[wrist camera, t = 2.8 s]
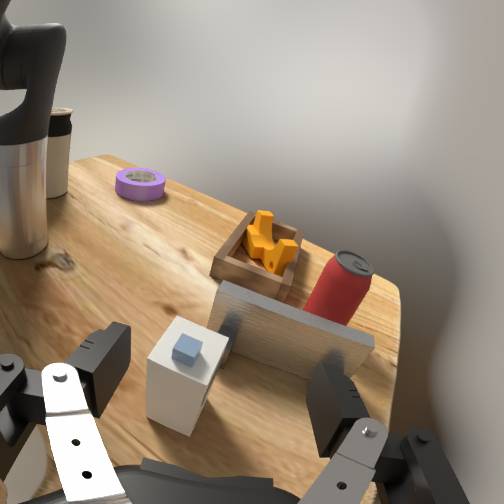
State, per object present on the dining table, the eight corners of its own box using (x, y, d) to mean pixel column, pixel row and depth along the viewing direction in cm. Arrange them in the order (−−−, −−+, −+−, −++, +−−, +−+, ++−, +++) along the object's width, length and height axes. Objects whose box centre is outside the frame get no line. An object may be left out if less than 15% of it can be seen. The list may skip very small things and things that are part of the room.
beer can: (328, 352, 38) (372, 284, 32) (289, 327, 40) (324, 256, 34) (343, 328, 43) (381, 266, 37) (308, 306, 46) (340, 242, 40)
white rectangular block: (146, 416, 23) (147, 347, 18) (167, 380, 28) (178, 304, 22) (190, 437, 23) (211, 376, 18) (208, 398, 27) (233, 328, 22)
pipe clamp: (240, 238, 57) (249, 209, 54) (260, 240, 59) (270, 211, 56) (262, 278, 48) (274, 244, 45) (285, 278, 50) (298, 246, 47)
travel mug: (57, 201, 50) (62, 113, 41) (28, 196, 48) (31, 112, 39) (72, 187, 57) (80, 108, 48) (45, 183, 55) (50, 107, 46)
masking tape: (118, 202, 57) (120, 185, 55) (111, 182, 65) (113, 167, 63) (169, 201, 64) (172, 185, 62) (156, 182, 72) (158, 168, 70)
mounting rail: (194, 356, 32) (206, 306, 28) (217, 314, 38) (231, 266, 35) (339, 407, 30) (376, 367, 26) (341, 360, 37) (371, 319, 33)
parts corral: (209, 275, 45) (214, 256, 44) (245, 225, 64) (249, 211, 62) (282, 304, 44) (291, 286, 43) (297, 245, 63) (303, 231, 61)
